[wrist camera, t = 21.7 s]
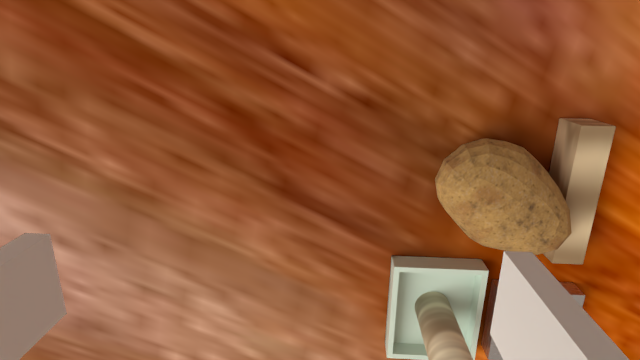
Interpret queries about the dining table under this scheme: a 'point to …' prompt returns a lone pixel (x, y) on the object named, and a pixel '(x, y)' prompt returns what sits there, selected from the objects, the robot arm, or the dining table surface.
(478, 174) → the potato
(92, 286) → the dining table surface
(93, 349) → the dining table surface
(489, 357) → the collar
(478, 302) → the tray
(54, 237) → the dining table surface
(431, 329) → the dowel
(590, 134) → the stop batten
